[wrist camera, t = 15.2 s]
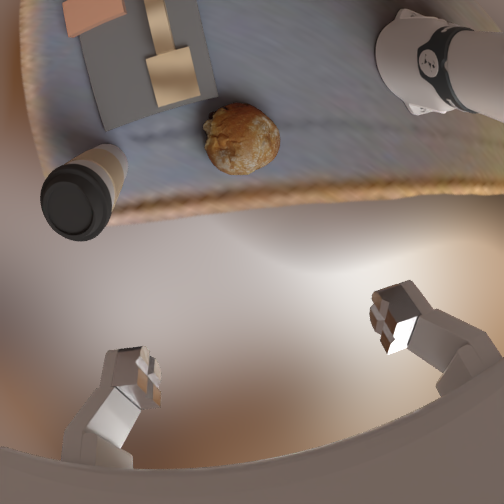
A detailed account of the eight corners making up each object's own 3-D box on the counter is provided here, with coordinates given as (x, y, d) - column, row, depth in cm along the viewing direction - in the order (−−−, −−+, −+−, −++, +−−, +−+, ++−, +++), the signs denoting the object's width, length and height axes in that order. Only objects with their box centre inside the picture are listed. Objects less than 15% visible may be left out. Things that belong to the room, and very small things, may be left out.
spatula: (126, -35, 19) (122, -40, 18) (167, -48, 20) (165, -54, 18) (159, 106, 33) (156, 109, 31) (200, 95, 33) (200, 96, 31)
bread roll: (222, 165, 44) (240, 200, 40) (183, 126, 35) (197, 159, 31) (274, 129, 42) (299, 160, 38) (243, 82, 33) (269, 108, 29)
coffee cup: (96, 202, 40) (60, 260, 28) (70, 153, 35) (19, 195, 23) (145, 180, 40) (120, 233, 27) (120, 125, 34) (79, 156, 22)
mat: (185, -45, 21) (185, -48, 20) (218, 95, 34) (218, 96, 34) (74, -5, 21) (71, -6, 20) (107, 130, 34) (105, 131, 33)
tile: (117, -23, 19) (62, 3, 19) (123, 11, 23) (68, 37, 23) (120, -20, 21) (67, 4, 21) (127, 13, 24) (73, 37, 24)
